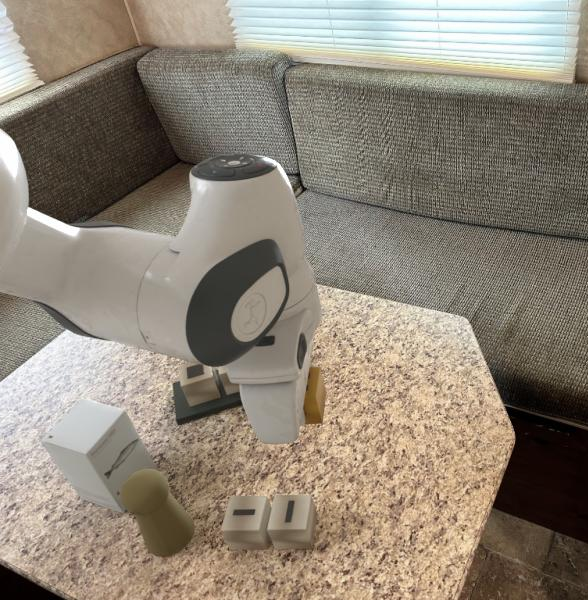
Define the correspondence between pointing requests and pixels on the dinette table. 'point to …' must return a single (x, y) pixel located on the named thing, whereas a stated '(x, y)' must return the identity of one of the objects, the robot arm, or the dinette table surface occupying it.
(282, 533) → the white block
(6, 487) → the dinette table surface
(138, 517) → the olive game pawn
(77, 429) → the white packaging box
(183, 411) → the slate board
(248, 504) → the off-white cube
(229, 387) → the tile
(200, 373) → the tile
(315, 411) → the yellow striped cube
